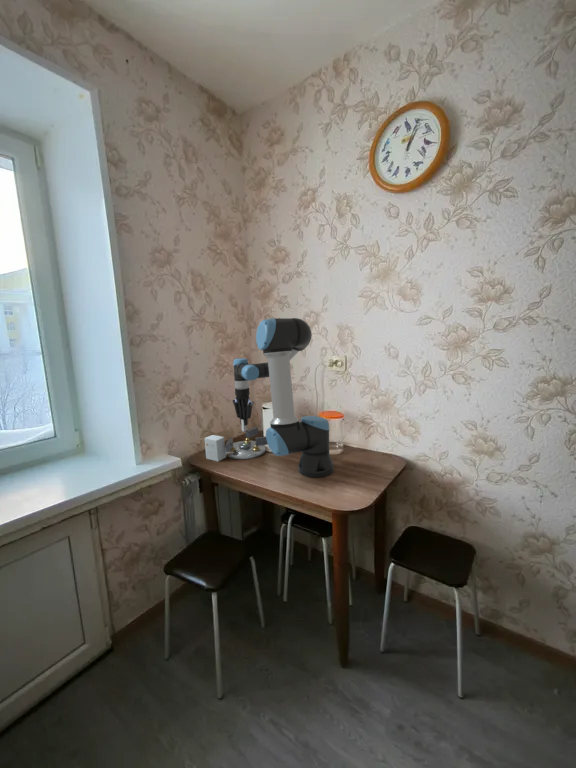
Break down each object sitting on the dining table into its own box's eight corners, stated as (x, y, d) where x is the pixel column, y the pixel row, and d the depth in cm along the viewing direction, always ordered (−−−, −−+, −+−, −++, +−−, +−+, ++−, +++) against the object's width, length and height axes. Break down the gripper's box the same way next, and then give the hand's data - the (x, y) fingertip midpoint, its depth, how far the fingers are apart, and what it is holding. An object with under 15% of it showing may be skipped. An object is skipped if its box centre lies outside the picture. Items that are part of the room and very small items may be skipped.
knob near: (253, 451, 160) (252, 439, 159) (252, 448, 164) (251, 437, 163) (273, 449, 162) (272, 437, 161) (271, 446, 166) (271, 435, 165)
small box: (226, 457, 159) (224, 436, 157) (218, 462, 155) (216, 440, 153) (214, 454, 164) (212, 434, 162) (205, 458, 159) (204, 437, 157)
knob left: (228, 448, 165) (228, 437, 164) (236, 448, 165) (235, 437, 164) (224, 456, 155) (223, 444, 154) (231, 456, 155) (231, 444, 154)
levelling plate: (273, 448, 169) (272, 440, 169) (248, 462, 153) (247, 454, 152) (243, 441, 180) (242, 435, 179) (216, 454, 164) (216, 447, 163)
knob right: (248, 443, 170) (247, 432, 169) (242, 442, 172) (242, 431, 171) (259, 438, 179) (259, 427, 177) (254, 437, 180) (253, 426, 179)
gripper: (256, 387, 174) (258, 430, 179) (237, 385, 181) (239, 426, 186) (247, 390, 168) (249, 434, 172) (227, 388, 175) (230, 430, 179)
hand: (244, 430), depth 179 cm, fingers closed
